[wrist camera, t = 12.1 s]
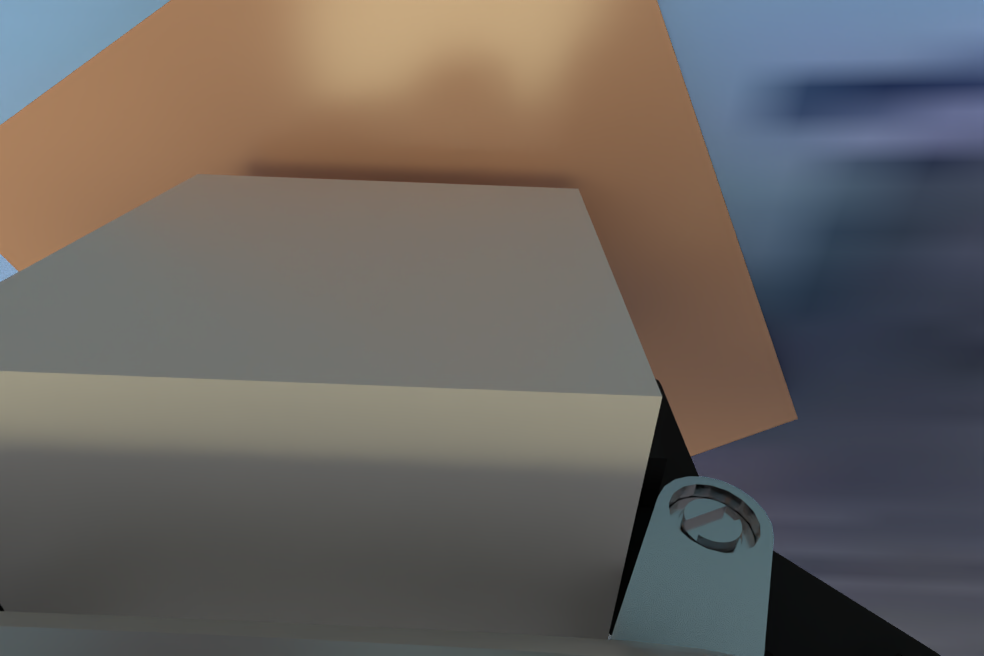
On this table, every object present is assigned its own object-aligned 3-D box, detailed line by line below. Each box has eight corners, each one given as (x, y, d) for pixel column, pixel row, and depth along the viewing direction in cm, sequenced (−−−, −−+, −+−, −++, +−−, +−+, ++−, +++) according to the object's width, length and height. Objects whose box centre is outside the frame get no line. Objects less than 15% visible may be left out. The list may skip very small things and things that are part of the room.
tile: (780, 394, 15) (798, 418, 14) (343, 554, 18) (335, 581, 17) (555, -257, 9) (560, -286, 8) (-34, 167, 12) (-75, 180, 11)
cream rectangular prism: (578, 188, 10) (662, 397, 5) (546, 471, 13) (575, 780, 8) (197, 173, 10) (-153, 365, 5) (261, 460, 13) (100, 762, 8)
